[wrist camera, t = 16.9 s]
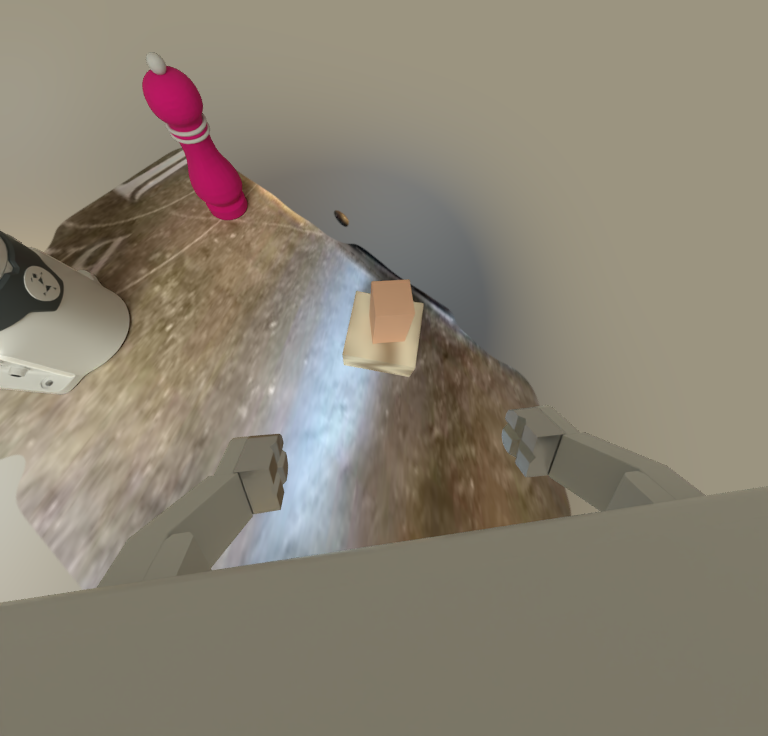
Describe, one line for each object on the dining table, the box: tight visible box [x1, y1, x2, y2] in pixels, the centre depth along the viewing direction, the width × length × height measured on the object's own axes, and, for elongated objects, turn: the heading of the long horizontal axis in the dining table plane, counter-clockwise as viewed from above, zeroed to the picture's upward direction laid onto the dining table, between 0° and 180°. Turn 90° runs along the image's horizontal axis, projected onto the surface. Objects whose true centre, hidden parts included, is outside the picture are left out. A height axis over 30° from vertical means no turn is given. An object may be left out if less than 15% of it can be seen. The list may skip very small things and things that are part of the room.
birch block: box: [343, 291, 424, 377], centre depth 43 cm, size 10×10×5 cm
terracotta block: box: [369, 280, 415, 344], centre depth 37 cm, size 4×4×8 cm
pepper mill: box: [142, 52, 247, 220], centre depth 41 cm, size 7×7×20 cm
